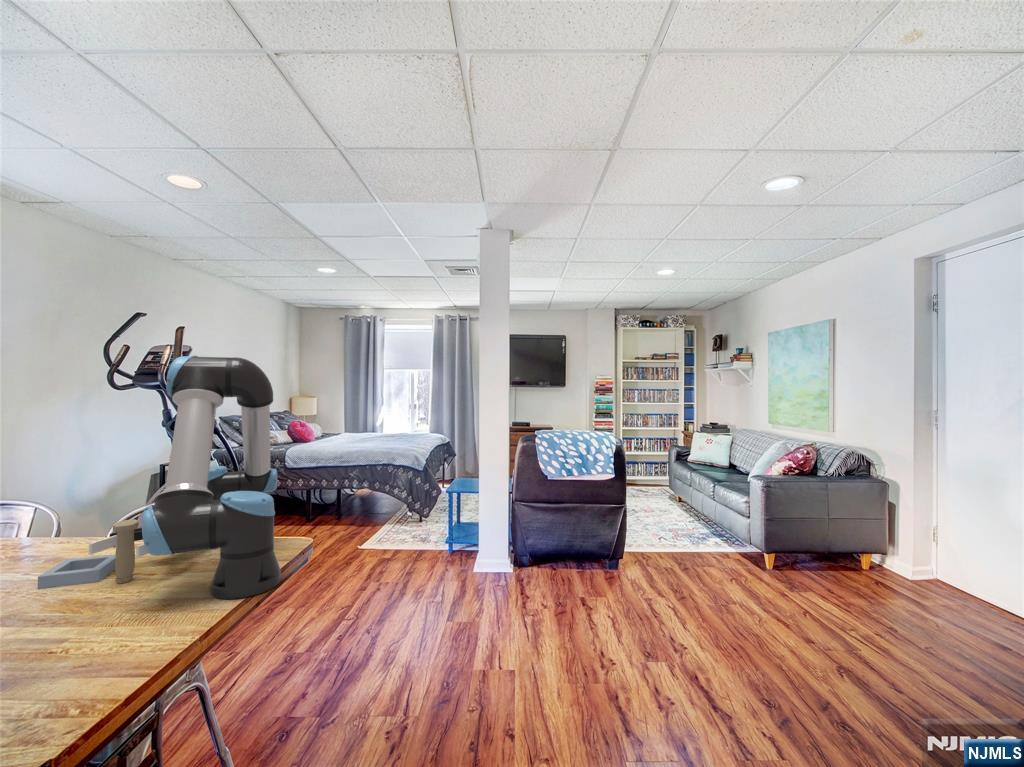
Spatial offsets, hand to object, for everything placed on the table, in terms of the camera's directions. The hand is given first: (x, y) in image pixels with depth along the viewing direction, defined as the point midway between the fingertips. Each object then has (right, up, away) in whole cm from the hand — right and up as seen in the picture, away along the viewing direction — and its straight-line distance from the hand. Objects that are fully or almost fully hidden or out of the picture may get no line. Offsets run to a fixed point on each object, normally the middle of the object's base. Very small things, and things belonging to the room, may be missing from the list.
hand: (113, 550), depth 110 cm
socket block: (-14, -9, +6) cm, 17 cm away
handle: (0, -9, +3) cm, 10 cm away
